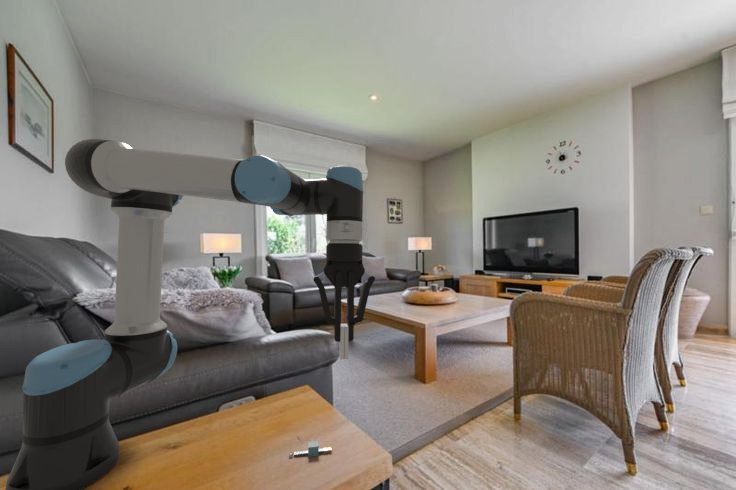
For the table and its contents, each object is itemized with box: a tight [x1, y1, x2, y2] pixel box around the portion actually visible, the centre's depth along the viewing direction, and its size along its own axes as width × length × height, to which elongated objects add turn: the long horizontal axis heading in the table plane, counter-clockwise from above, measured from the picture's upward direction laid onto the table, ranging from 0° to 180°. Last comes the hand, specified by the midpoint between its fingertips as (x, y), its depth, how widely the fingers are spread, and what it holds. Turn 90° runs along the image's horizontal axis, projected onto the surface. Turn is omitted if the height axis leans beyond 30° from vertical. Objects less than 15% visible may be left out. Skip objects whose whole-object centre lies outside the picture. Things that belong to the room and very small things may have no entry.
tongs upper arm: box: [288, 446, 333, 459], centre depth 61 cm, size 8×1×1 cm, turn 100°
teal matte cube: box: [307, 440, 320, 458], centre depth 62 cm, size 2×2×3 cm
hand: (343, 356), depth 63 cm, fingers closed
